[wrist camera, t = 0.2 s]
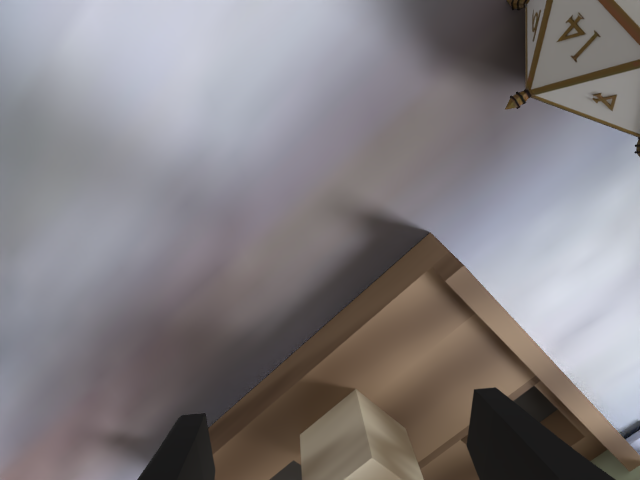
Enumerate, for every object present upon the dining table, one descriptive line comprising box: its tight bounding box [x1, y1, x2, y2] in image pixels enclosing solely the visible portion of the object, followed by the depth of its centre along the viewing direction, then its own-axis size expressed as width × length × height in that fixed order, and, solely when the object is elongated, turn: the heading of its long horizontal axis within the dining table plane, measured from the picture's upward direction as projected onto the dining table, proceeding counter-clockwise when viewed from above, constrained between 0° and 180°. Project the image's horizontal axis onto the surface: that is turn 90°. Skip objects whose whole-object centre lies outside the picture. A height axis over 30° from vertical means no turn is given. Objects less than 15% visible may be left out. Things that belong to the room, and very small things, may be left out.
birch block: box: [300, 389, 424, 480], centre depth 19 cm, size 4×4×4 cm
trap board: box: [208, 233, 640, 480], centre depth 22 cm, size 18×20×6 cm
